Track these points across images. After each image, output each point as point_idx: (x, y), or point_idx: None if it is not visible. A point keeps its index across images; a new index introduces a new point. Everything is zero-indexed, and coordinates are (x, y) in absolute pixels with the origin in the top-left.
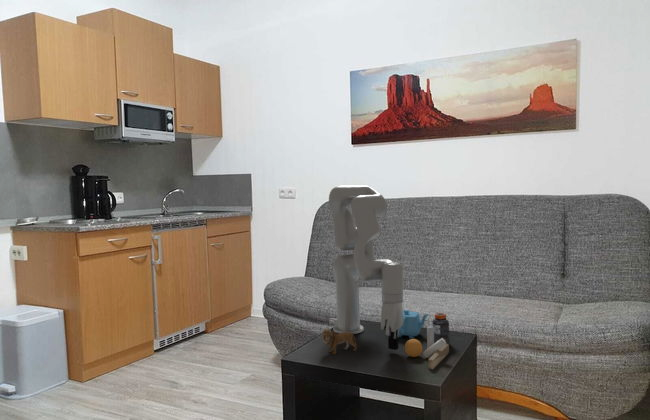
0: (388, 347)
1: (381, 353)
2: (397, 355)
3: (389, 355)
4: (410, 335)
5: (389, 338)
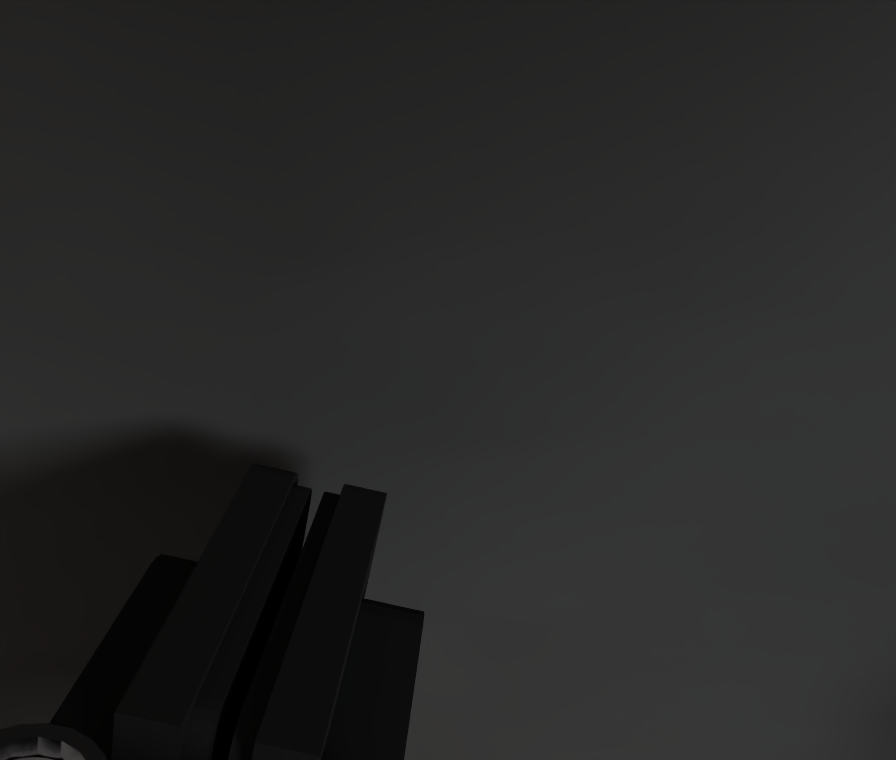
0: (252, 472)
1: (178, 226)
2: None
3: (115, 445)
4: None
5: (125, 732)
